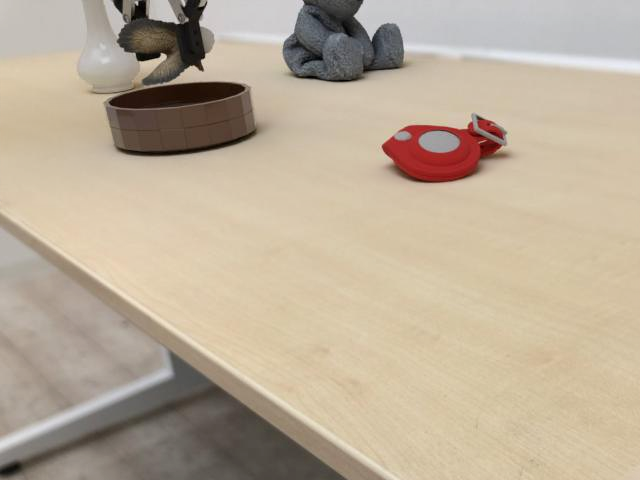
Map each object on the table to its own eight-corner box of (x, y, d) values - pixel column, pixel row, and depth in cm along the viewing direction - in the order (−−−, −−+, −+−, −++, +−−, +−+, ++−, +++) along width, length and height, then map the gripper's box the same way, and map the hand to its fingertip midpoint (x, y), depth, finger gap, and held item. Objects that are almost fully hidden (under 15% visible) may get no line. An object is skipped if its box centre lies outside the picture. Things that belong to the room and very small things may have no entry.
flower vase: (60, 105, 117) (7, -88, 106) (83, 84, 134) (40, -86, 122) (151, 96, 120) (110, -93, 108) (164, 77, 136) (129, -90, 124)
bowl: (83, 150, 91) (71, 105, 89) (185, 119, 104) (176, 79, 102) (190, 161, 84) (180, 113, 82) (284, 126, 97) (278, 83, 95)
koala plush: (348, 84, 120) (332, -62, 111) (260, 78, 129) (239, -57, 120) (412, 65, 133) (403, -67, 124) (328, 61, 142) (314, -62, 133)
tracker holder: (457, 175, 70) (363, 140, 73) (455, 215, 73) (364, 180, 77) (519, 114, 78) (431, 85, 81) (514, 153, 81) (429, 124, 84)
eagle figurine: (165, 59, 96) (105, 57, 88) (187, 5, 92) (127, -3, 84) (209, 98, 95) (153, 99, 87) (233, 45, 91) (177, 40, 83)
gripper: (45, -118, 82) (91, 64, 91) (168, -132, 75) (206, 68, 83) (102, -118, 88) (141, 53, 97) (222, -131, 81) (253, 56, 89)
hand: (171, 58), depth 90 cm, fingers closed on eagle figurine, 6 cm apart
